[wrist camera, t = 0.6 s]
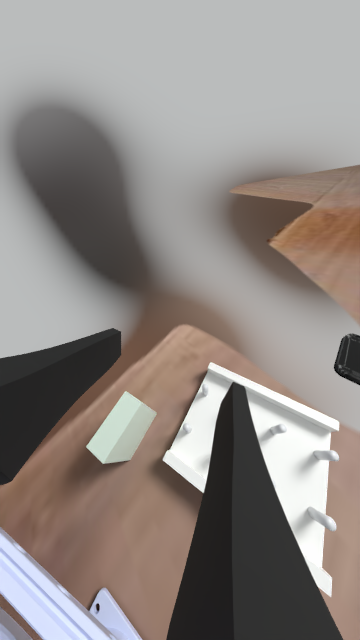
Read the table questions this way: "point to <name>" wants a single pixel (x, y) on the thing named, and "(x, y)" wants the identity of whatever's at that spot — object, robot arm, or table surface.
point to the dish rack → (269, 455)
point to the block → (122, 430)
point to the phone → (349, 358)
